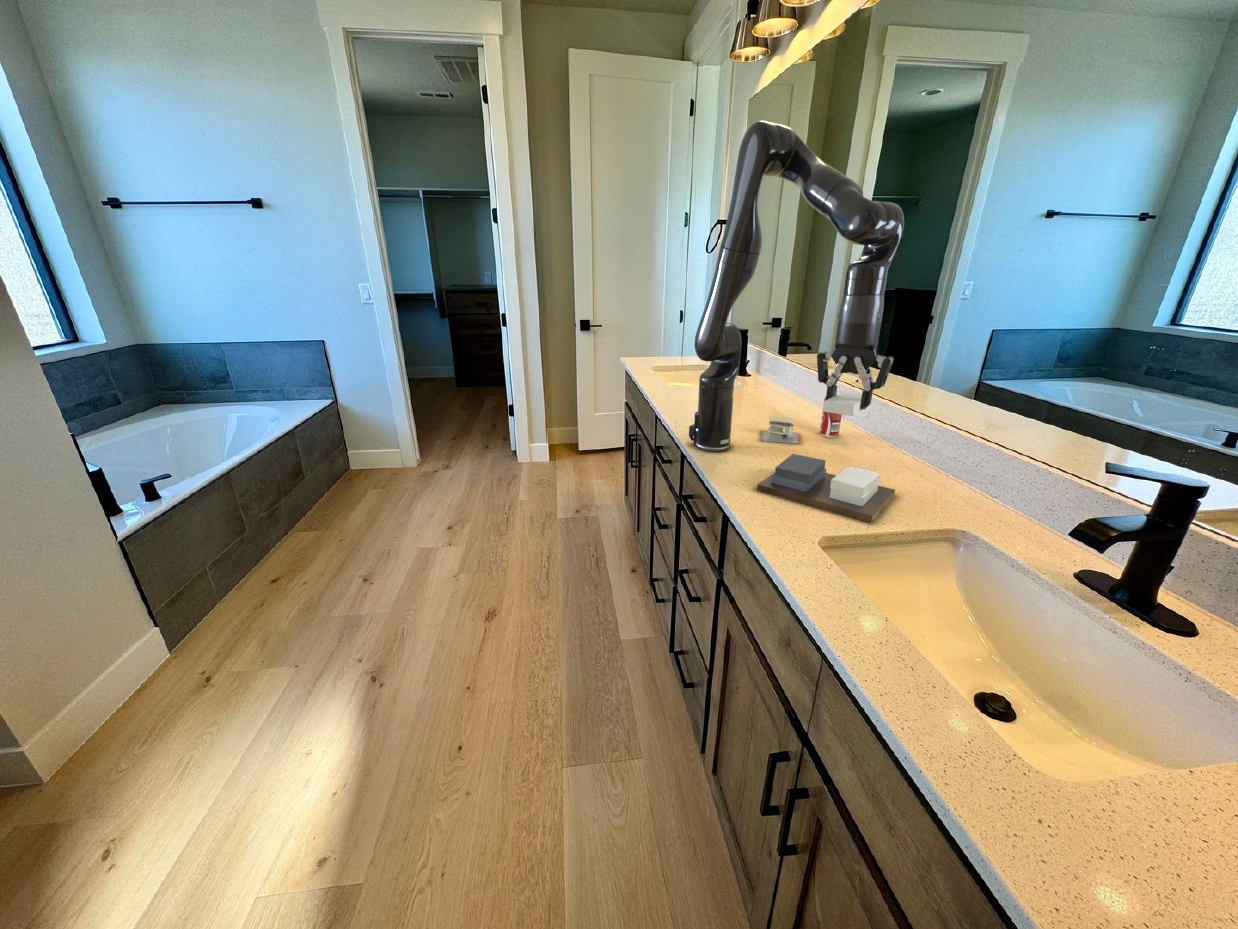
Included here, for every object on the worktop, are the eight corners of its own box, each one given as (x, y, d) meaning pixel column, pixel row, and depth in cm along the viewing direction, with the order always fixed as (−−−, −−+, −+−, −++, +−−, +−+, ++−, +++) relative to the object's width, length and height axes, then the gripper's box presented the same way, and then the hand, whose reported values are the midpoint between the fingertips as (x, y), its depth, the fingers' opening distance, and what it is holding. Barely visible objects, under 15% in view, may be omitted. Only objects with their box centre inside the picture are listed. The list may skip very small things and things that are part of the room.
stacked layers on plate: (761, 440, 141) (763, 422, 139) (762, 431, 149) (764, 414, 147) (798, 443, 138) (801, 425, 136) (797, 434, 146) (800, 416, 144)
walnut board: (756, 490, 110) (757, 483, 109) (787, 469, 121) (788, 463, 120) (871, 523, 95) (872, 516, 94) (894, 495, 106) (895, 489, 105)
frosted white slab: (823, 411, 98) (824, 400, 97) (841, 401, 105) (842, 391, 104) (852, 416, 94) (854, 404, 93) (869, 405, 101) (870, 395, 100)
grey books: (770, 483, 110) (772, 466, 108) (791, 468, 117) (793, 452, 116) (807, 493, 104) (809, 475, 103) (826, 477, 112) (829, 460, 111)
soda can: (817, 432, 148) (822, 392, 143) (835, 432, 147) (841, 393, 142) (821, 437, 143) (827, 397, 138) (840, 438, 142) (846, 397, 138)
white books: (828, 497, 102) (830, 479, 101) (844, 482, 109) (847, 465, 108) (862, 506, 98) (866, 488, 97) (878, 490, 105) (881, 473, 104)
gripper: (906, 319, 91) (891, 407, 97) (828, 316, 100) (818, 398, 106) (895, 322, 86) (879, 416, 92) (814, 319, 95) (804, 404, 101)
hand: (846, 406), depth 99 cm, fingers closed on frosted white slab, 5 cm apart
